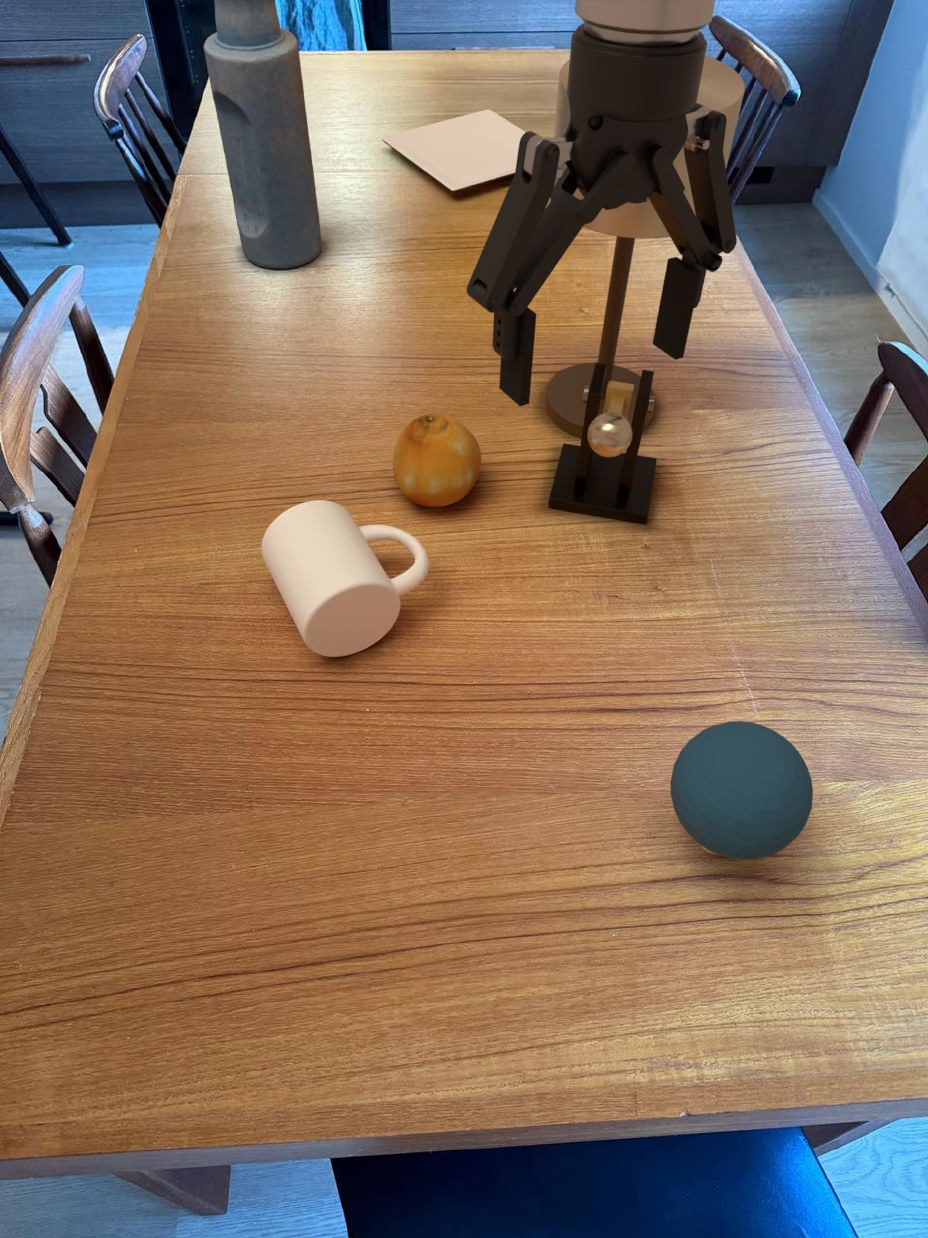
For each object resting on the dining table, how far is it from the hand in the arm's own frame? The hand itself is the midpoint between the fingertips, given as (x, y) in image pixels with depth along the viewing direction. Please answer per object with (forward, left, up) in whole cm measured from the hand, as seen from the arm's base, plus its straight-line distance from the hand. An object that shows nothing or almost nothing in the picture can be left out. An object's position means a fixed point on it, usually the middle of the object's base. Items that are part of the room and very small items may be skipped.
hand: (593, 372), depth 65 cm
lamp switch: (+2, -2, -7) cm, 7 cm away
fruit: (+5, +13, -18) cm, 23 cm away
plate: (+72, +25, -18) cm, 78 cm away
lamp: (+21, 0, -18) cm, 28 cm away
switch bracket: (+9, -2, -18) cm, 20 cm away
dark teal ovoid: (-25, -14, -18) cm, 34 cm away
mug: (-10, +16, -18) cm, 27 cm away
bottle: (+42, +42, -18) cm, 62 cm away
